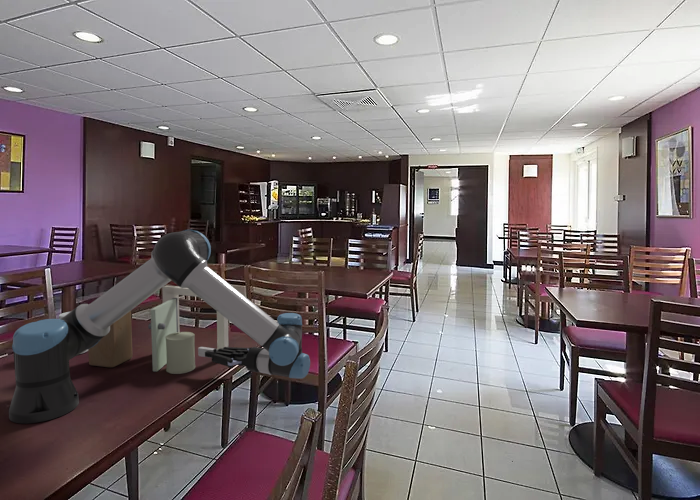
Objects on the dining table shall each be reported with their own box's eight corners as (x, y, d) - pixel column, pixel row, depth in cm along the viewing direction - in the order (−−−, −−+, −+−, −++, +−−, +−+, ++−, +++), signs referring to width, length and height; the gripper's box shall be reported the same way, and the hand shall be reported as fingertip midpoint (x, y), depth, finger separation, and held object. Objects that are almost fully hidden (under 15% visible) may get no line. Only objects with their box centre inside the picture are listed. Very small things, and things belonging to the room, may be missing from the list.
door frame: (224, 360, 149) (223, 292, 146) (164, 351, 157) (162, 286, 155) (228, 358, 151) (227, 291, 148) (168, 349, 160) (167, 285, 157)
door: (147, 371, 138) (145, 309, 135) (170, 352, 155) (169, 297, 153) (162, 371, 138) (160, 309, 135) (183, 352, 155) (182, 297, 153)
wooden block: (112, 368, 140) (110, 310, 138) (87, 366, 142) (84, 308, 140) (133, 358, 150) (131, 304, 148) (109, 356, 152) (107, 302, 150)
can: (185, 361, 147) (184, 328, 146) (201, 367, 142) (200, 333, 141) (160, 369, 140) (159, 335, 139) (176, 376, 135) (175, 340, 133)
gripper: (250, 379, 125) (186, 369, 132) (272, 364, 137) (212, 355, 144) (250, 355, 124) (185, 346, 131) (272, 342, 136) (211, 334, 144)
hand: (199, 351), depth 138 cm, fingers closed
